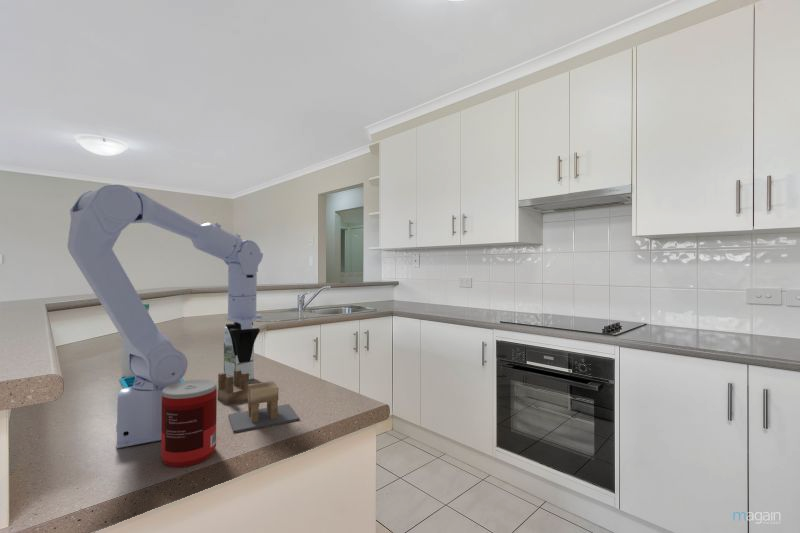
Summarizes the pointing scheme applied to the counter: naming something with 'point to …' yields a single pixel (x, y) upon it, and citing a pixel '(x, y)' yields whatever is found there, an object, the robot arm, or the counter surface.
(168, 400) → the canned food
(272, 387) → the oak stool
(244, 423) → the mat
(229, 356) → the syrup box
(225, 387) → the upturned walnut stool
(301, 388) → the counter surface
